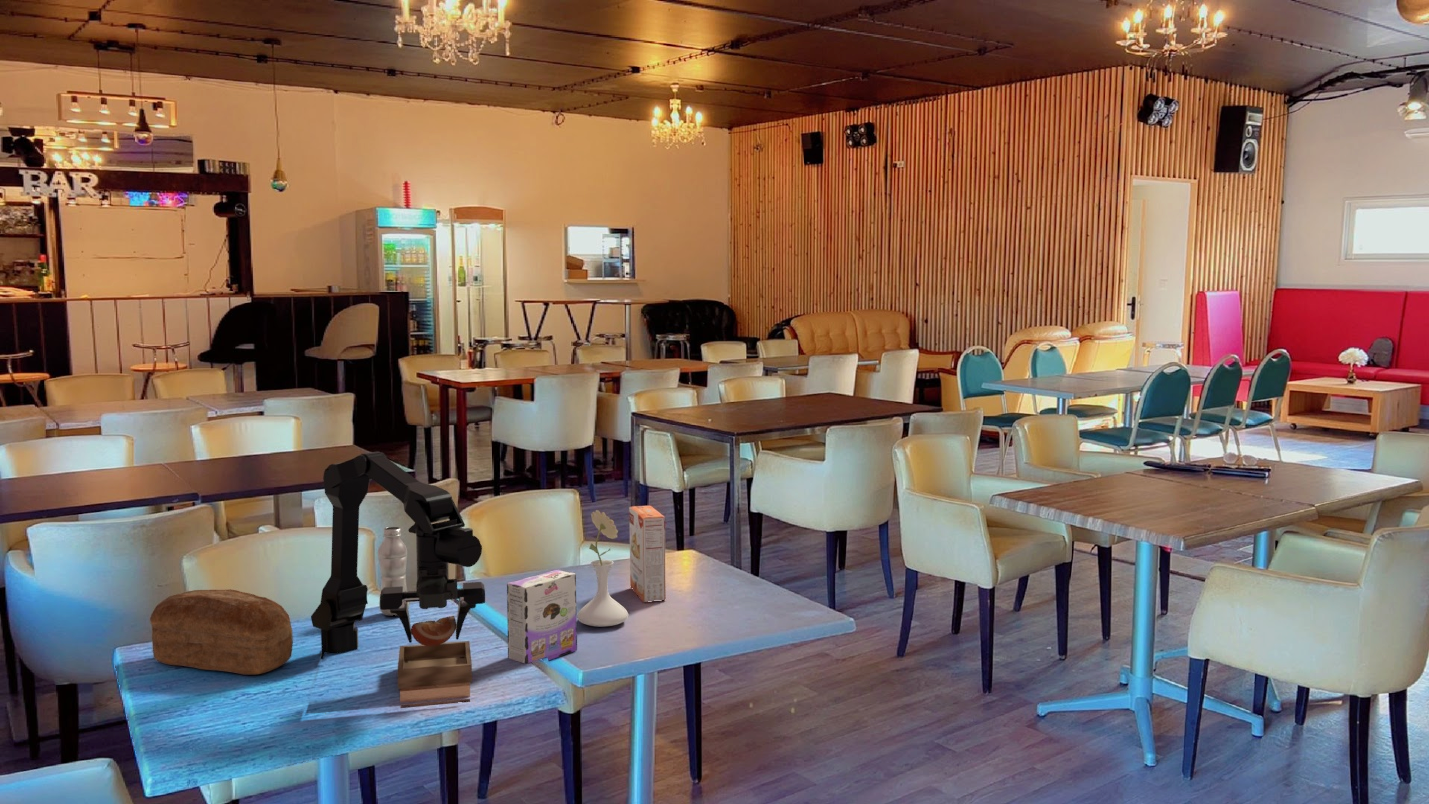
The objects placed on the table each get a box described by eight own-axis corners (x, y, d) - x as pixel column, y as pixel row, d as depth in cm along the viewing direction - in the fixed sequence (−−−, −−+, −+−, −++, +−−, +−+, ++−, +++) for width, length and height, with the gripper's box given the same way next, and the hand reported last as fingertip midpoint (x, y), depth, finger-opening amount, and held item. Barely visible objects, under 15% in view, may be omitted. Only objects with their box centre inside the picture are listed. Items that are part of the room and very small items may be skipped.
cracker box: (628, 588, 265) (628, 505, 263) (652, 586, 266) (651, 504, 264) (641, 603, 251) (641, 517, 249) (666, 601, 253) (666, 515, 251)
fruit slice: (446, 636, 203) (446, 611, 203) (464, 645, 198) (463, 619, 198) (405, 645, 198) (405, 619, 197) (422, 655, 193) (421, 628, 192)
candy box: (558, 645, 221) (557, 568, 220) (578, 651, 217) (577, 572, 216) (506, 662, 211) (505, 581, 209) (526, 669, 207) (525, 586, 205)
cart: (398, 692, 191) (397, 670, 190) (400, 666, 204) (399, 646, 204) (472, 686, 194) (471, 664, 193) (469, 661, 207) (469, 640, 207)
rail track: (399, 708, 187) (398, 691, 187) (403, 656, 214) (403, 641, 214) (471, 701, 190) (470, 685, 190) (466, 651, 217) (466, 637, 217)
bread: (188, 647, 219) (185, 579, 218) (303, 661, 211) (300, 591, 210) (142, 666, 208) (138, 595, 206) (260, 682, 200) (257, 608, 198)
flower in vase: (635, 627, 233) (634, 515, 231) (584, 633, 229) (583, 519, 227) (618, 611, 245) (617, 504, 243) (569, 616, 241) (568, 508, 239)
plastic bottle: (401, 619, 238) (399, 532, 236) (373, 617, 240) (371, 530, 238) (415, 611, 244) (412, 526, 243) (388, 609, 246) (385, 524, 244)
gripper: (377, 572, 186) (379, 658, 188) (486, 566, 191) (487, 650, 192) (380, 557, 197) (382, 639, 198) (483, 551, 202) (484, 631, 203)
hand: (433, 640), depth 198 cm, fingers closed on fruit slice, 8 cm apart
